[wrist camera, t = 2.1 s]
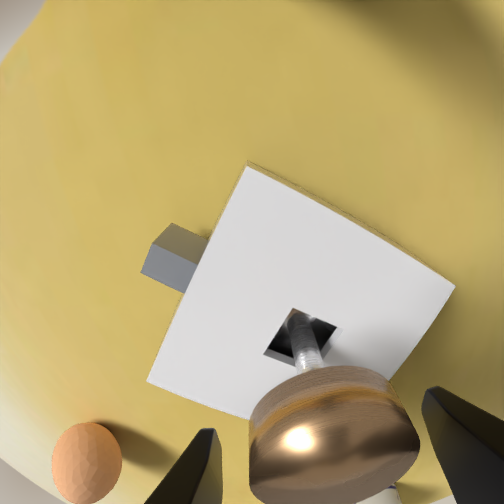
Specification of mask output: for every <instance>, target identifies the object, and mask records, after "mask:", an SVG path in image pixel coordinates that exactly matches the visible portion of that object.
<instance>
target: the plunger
mask: <svg viewBox="0 0 504 504" xmlns="http://www.w3.org/2000/svg"><path fill="white" fill-rule="evenodd" d="M336 328H337V326H334V325H332V324H330V323H327V322H325V321H323V320H320V319H318V318H316V317H313V316H311V315H309V314H306V313H304V312H302V311H300V310H297V309H295V308H292V309H291V311H290V313H289V314H288V316H287V318H286V319H285V321H284V322H283V324H282V325H281V327H280V329H279V330H278V332H277V333H276V335H275V337H274V338H273V340H272V341H271V343H270V344H269V346H268V347H267V349H270V350H272V351H275V352H278V353H280V354H283V355H285V356H288V357H291V358H293V359H294V361H295V366H296V370H297V376H294V377H292V378H290V379H288V380H286V381H284V382H282V383H281V384H279V385H277V386H276V387H275V388H273V389H272V390H270V391H269V392H268V393H267V394H266V395H265V396H264V397H263V398H262V399H261V400H260V401H259V402H258V403H257V405H256V406H255V408H254V410H253V412H252V414H251V416H250V420H249V485H250V489H251V491H252V493H253V494H254V495H255V497H256V498H257V499H259V500H260V501H262V502H263V503H265V504H355V503H358V502H360V501H363V500H366V499H368V498H370V497H372V496H374V495H376V494H378V493H380V492H382V491H383V490H385V489H386V488H388V487H389V486H391V485H392V484H394V483H395V482H396V481H398V480H399V479H400V478H401V477H402V476H403V475H404V474H405V473H406V472H407V471H408V470H409V469H410V467H411V466H412V465H413V463H414V462H415V460H416V458H417V456H418V454H419V450H420V439H419V436H418V434H417V432H416V430H415V428H414V426H413V424H412V422H411V420H410V418H409V417H408V415H407V413H406V411H405V409H404V407H403V405H402V403H401V401H400V400H399V398H398V396H397V394H396V392H395V390H394V388H393V387H392V385H391V384H390V382H389V381H388V380H387V379H386V378H385V377H384V376H382V375H381V374H379V373H378V372H375V371H373V370H371V369H367V368H364V367H358V366H344V365H342V366H330V367H325V366H324V363H323V360H322V357H321V354H320V351H321V350H322V348H323V347H324V345H325V344H326V343H327V341H328V340H329V338H330V337H331V335H332V334H333V332H334V331H335V330H336Z"/></svg>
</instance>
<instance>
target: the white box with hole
mask: <svg viewBox="0 0 504 504" xmlns="http://www.w3.org/2000/svg"><path fill="white" fill-rule="evenodd" d="M141 273H142V274H144V275H146V276H148V277H150V278H152V279H154V280H157V281H159V282H161V283H163V284H165V285H167V286H169V287H171V288H173V289H175V290H178V291H180V292H182V293H183V294H182V296H181V298H180V300H179V303H178V305H177V307H176V309H175V311H174V314H173V316H172V319H171V321H170V323H169V326H168V328H167V331H166V333H165V336H164V338H163V341H162V343H161V346H160V348H159V350H158V353H157V355H156V358H155V361H154V363H153V366H152V368H151V371H150V373H149V376H148V378H147V382H149V383H151V384H153V385H156V386H158V387H160V388H163V389H165V390H167V391H170V392H172V393H175V394H177V395H180V396H182V397H185V398H187V399H190V400H192V401H195V402H198V403H200V404H203V405H206V406H209V407H211V408H214V409H217V410H220V411H223V412H226V413H229V414H231V415H235V416H238V417H241V418H244V419H247V420H250V416H251V414H252V412H253V410H254V408H255V406H256V405H257V403H258V402H259V401H260V400H261V399H262V398H263V397H264V396H265V395H266V394H267V393H268V392H269V391H270V390H272V389H273V388H275V387H276V386H277V385H279V384H281V383H282V382H284V381H286V380H288V379H290V378H292V377H294V376H297V370H296V366H295V361H294V359H293V358H291V357H288V356H285V355H283V354H280V353H278V352H275V351H272V350H270V349H267V347H268V346H269V344H270V343H271V341H272V340H273V338H274V337H275V335H276V333H277V332H278V330H279V329H280V327H281V325H282V324H283V322H284V321H285V319H286V318H287V316H288V314H289V313H290V311H291V309H292V308H295V309H297V310H300V311H302V312H304V313H306V314H309V315H311V316H313V317H316V318H318V319H320V320H323V321H325V322H327V323H330V324H332V325H334V326H337V328H336V330H335V331H334V332H333V334H332V335H331V337H330V338H329V340H328V341H327V343H326V344H325V345H324V347H323V348H322V350H321V351H320V354H321V357H322V360H323V363H324V366H325V367H330V366H342V365H344V366H358V367H364V368H367V369H371V370H373V371H375V372H378V373H379V374H381V375H382V376H384V377H385V378H386V379H387V380H388V381H389V380H390V379H391V377H392V376H393V375H394V374H395V372H396V371H397V370H398V369H399V367H400V366H401V365H402V364H403V362H404V361H405V360H406V358H407V357H408V356H409V354H410V353H411V352H412V350H413V349H414V348H415V346H416V345H417V344H418V342H419V341H420V339H421V338H422V337H423V335H424V334H425V332H426V331H427V330H428V328H429V327H430V325H431V324H432V322H433V321H434V319H435V318H436V316H437V315H438V313H439V312H440V310H441V309H442V307H443V306H444V304H445V303H446V301H447V299H448V298H449V296H450V295H451V293H452V291H453V290H454V288H455V287H456V286H455V285H454V284H452V283H451V282H450V281H449V280H447V279H446V278H445V277H443V276H442V275H441V274H439V273H438V272H437V271H435V270H434V269H432V268H431V267H430V266H428V265H427V264H426V263H424V262H423V261H422V260H420V259H419V258H417V257H416V256H415V255H413V254H412V253H410V252H409V251H407V250H406V249H405V248H403V247H402V246H400V245H399V244H397V243H396V242H394V241H393V240H391V239H389V238H388V237H386V236H385V235H383V234H381V233H380V232H378V231H376V230H375V229H373V228H371V227H369V226H368V225H366V224H364V223H363V222H361V221H359V220H358V219H356V218H354V217H352V216H351V215H349V214H347V213H345V212H344V211H342V210H340V209H338V208H337V207H335V206H333V205H331V204H329V203H328V202H326V201H324V200H322V199H320V198H319V197H317V196H315V195H313V194H311V193H309V192H308V191H306V190H304V189H302V188H300V187H298V186H296V185H294V184H293V183H291V182H289V181H287V180H285V179H283V178H281V177H279V176H277V175H275V174H273V173H271V172H269V171H267V170H265V169H263V168H261V167H259V166H257V165H255V164H253V163H251V162H249V161H246V163H245V165H244V167H243V169H242V171H241V173H240V175H239V177H238V179H237V181H236V183H235V185H234V187H233V189H232V191H231V193H230V195H229V197H228V199H227V201H226V203H225V205H224V207H223V209H222V211H221V213H220V215H219V217H218V219H217V221H216V224H215V226H214V228H213V230H212V232H211V234H210V236H209V238H208V240H207V239H205V238H203V237H201V236H199V235H197V234H194V233H192V232H190V231H188V230H186V229H184V228H182V227H180V226H178V225H176V224H173V223H171V224H170V225H169V226H168V227H167V228H166V229H165V230H164V231H163V232H162V233H161V235H160V236H159V237H158V238H157V239H156V240H155V241H154V242H153V243H152V245H151V247H150V250H149V252H148V255H147V257H146V260H145V263H144V265H143V268H142V270H141Z"/></svg>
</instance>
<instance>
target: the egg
mask: <svg viewBox="0 0 504 504" xmlns="http://www.w3.org/2000/svg"><path fill="white" fill-rule="evenodd" d="M121 468H122V455H121V450H120V447H119V445H118V442H117V440H116V439H115V437H114V436H113V435H112V433H111V432H110V431H109V430H108V429H106V428H105V427H103V426H101V425H99V424H96V423H89V422H88V423H81V424H77V425H74V426H72V427H71V428H69V429H68V430H66V431H65V432H64V433H63V434H62V435H61V437H60V438H59V440H58V441H57V443H56V446H55V448H54V451H53V455H52V474H53V479H54V483H55V485H56V486H57V488H58V490H59V492H60V493H61V495H62V496H63V497H64V498H65V499H67V500H68V501H70V502H72V503H74V504H92V503H95V502H97V501H99V500H100V499H102V498H103V497H105V496H106V495H107V494H108V493H109V492H110V491H111V490H112V489H113V487H114V486H115V484H116V482H117V481H118V478H119V475H120V473H121Z"/></svg>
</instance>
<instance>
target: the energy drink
mask: <svg viewBox="0 0 504 504" xmlns="http://www.w3.org/2000/svg"><path fill="white" fill-rule="evenodd" d="M355 504H402V502H401V499H400V496H399V494H398V491H397V488H396V486H395V484H392V485H391V486H389V487H388V488H386V489H385V490H383V491H382V492H380V493H378V494H376V495H374V496H372V497H370V498H368V499H366V500H363V501H360V502H358V503H355Z"/></svg>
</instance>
